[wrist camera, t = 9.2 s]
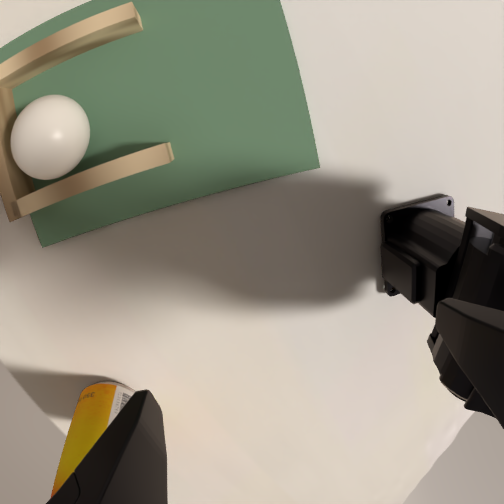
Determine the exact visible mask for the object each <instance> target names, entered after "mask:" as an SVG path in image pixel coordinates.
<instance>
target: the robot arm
mask: <svg viewBox="0 0 504 504" xmlns="http://www.w3.org/2000/svg"><path fill="white" fill-rule="evenodd" d="M447 201H448V204H447ZM388 216H390V219H389V220H388V221H387V217H388ZM465 216H466V217H467V218H466V222H463V221H461V220H459V219H457V218H454V200H453V198H452V197H451V196H448V195H444V196H440V197H436V198H433V199H429V200H425V201H421V202H417V203H413V204H410V205H406V206H402V207H398V208H394V209H390V210H387V211H384V212H383V213H382V215H381V230H382V244H381V257H382V275H383V278H384V279H385V292H386V293H387V294H388V295H389V296H395V295H397V294H400V293H401V294H402V295H403V296H404V297H406V298H407V299H408V300H409V301H410V302H411V303H413V304H416V303H419V304H420V305H421V306H422V307H423V308H424V309H425V310H426V311H428V312H429V313H430V314H431V315H432V316H433V317H434V318H436V322H435V326H434V329H433V331H432V333H431V334H430V335H429V338H428V340H427V343H428V346H429V348H430V350H431V353H432V355H433V361H434V363H435V365H436V366H437V368H438V370H439V373H440V377H439V379H440V381H441V383H442V384H443V385H444V386H445V387H446V388H447V389H448V390H449V391H450V392H451V393H452V394H453V395H454V396H455V397H457V398H459V399H461V400H463V401H465V404H464V407H465V408H466V409H468V410H472V411H478V412H482V413H485V414H487V415H490V416H492V417H494V418H496V419H497V420H498V421H499V423H500V424H501V426H502V427H503V429H504V214H500V213H495V212H490V211H486V210H481V209H476V208H471V207H467V210H466V215H465ZM391 288H393V289H392V290H391ZM390 290H391V291H390ZM46 504H168V502H167V453H166V444H165V435H164V426H163V415H162V411H161V408H160V406H159V405H158V403H157V401H156V400H155V398H154V396H153V395H152V393H151V392H150V391H149V390H141V391H136V392H135V393H134V394H133V395H132V396H131V398H130V399H129V400H128V402H127V403H126V404H125V405H124V407H123V408H122V409H121V411H120V412H119V413H118V414H117V416H116V417H115V418H114V419H113V421H112V422H111V423H110V425H109V426H108V427H107V428H106V430H105V431H104V432H103V434H102V435H101V436H100V437H99V439H98V440H97V441H96V443H95V444H94V445H93V446H92V448H91V449H90V450H89V452H88V453H87V454H86V455H85V457H84V458H83V459H82V461H81V462H80V463H79V464H78V466H77V467H76V468H75V470H74V472H72V473H71V475H70V476H69V477H68V479H67V480H66V481H65V482H64V484H63V485H62V486H61V487H60V488H59V490H58V491H57V492H56V493H55V494H54V495H53V496H52V498H51V499H50V500H49V501H48V502H47V503H46Z"/></svg>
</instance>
